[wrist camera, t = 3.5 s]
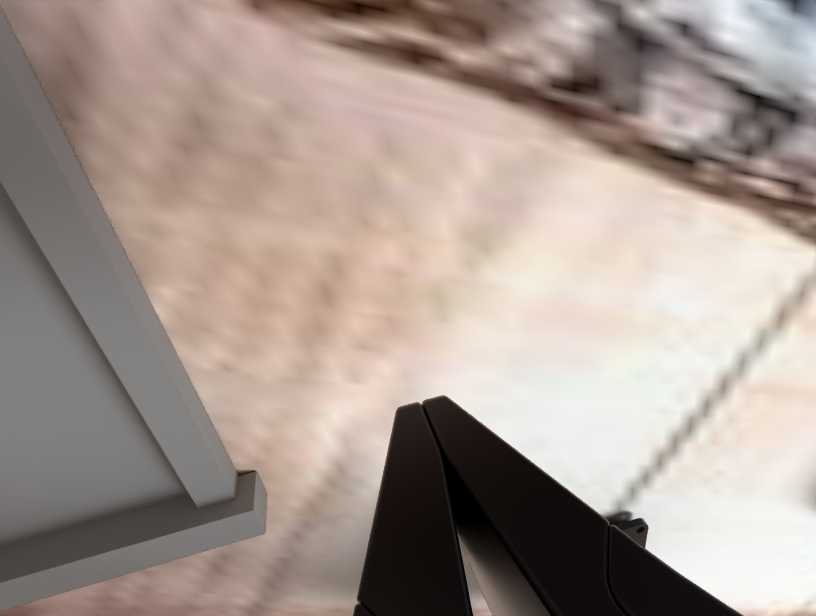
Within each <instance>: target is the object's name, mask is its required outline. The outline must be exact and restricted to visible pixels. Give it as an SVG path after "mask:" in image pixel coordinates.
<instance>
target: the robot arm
mask: <svg viewBox="0 0 816 616" xmlns="http://www.w3.org/2000/svg"><path fill="white" fill-rule="evenodd" d="M647 532H648V525H647V524H646V522H645V521H644V520H643V519H642V518H638V519H634V520H631V521H628V522H625V523H622V524H619V525H610V526H609V521H608V520H607V519H605V518H604V517H603V516H602V515H600V514H599V513H598V512H596V511H595V510H594V509H592V508H591V507H590V506H589V505H587V504H586V503H585V502H583V501H582V500H581V499H579V498H578V497H577V496H576V495H574V494H573V493H572V492H570V491H569V490H568V489H566V488H565V487H564V486H563V485H561V484H560V483H559V482H557V481H556V480H555V479H553V478H552V477H551V476H550V475H548V474H547V473H546V472H544V471H543V470H542V469H540V468H539V467H538V466H537V465H535V464H534V463H533V462H531V461H530V460H529V459H527V458H526V457H525V456H524V455H522V454H521V453H520V452H518V451H517V450H516V449H514V448H513V447H512V446H511V445H509V444H508V443H507V442H505V441H504V440H503V439H501V438H500V437H499V436H498V435H496V434H495V433H494V432H492V431H491V430H490V429H488V428H487V427H486V426H485V425H483V424H482V423H481V422H479V421H478V420H477V419H475V418H474V417H473V416H472V415H470V414H469V413H468V412H466V411H465V410H464V409H462V408H461V407H460V406H459V405H457V404H456V403H455V402H453V401H452V400H451V399H449V398H448V397H447V396H438V397H434V398H431V399H427V400H424V401H423V402H422V405H421V404H420V403H419V402H416V403H412V404H408V405H404V406H401V407H399V408H398V409H397V410H396V414H395V418H394V423H393V428H392V433H391V438H390V442H389V447H388V452H387V457H386V462H385V466H384V471H383V476H382V481H381V486H380V491H379V495H378V500H377V505H376V510H375V515H374V519H373V524H372V529H371V534H370V539H369V543H368V548H367V553H366V558H365V563H364V567H363V572H362V577H361V582H360V587H359V591H358V596H357V602H358V604H357V605H356V606H355V609H354V614H353V616H473V613H472V608H471V602H470V597H469V592H468V586H467V581H466V576H465V570H464V565H463V560H462V555H461V549H460V544H459V540H460V543H461V545H462V548H463V550H464V552H465V554H466V557H467V559H468V561H469V564H470V566H471V568H472V570H473V573H474V575H475V577H476V579H477V582H478V584H479V586H480V589H481V591H482V593H483V595H484V598H485V600H486V602H487V604H488V607H489V609H490V611H491V614H492V616H743V615H742V614H740V613H739V612H737V611H736V610H734V609H732V608H731V607H729V606H728V605H726V604H725V603H723V602H722V601H720V600H719V599H717V598H715V597H714V596H712V595H711V594H709V593H708V592H706V591H705V590H703V589H702V588H700V587H699V586H697V585H696V584H694V583H693V582H691V581H690V580H688V579H687V578H685V577H684V576H682V575H681V574H679V573H678V572H676V571H675V570H674V569H672V568H671V567H670V566H668V565H667V564H665V563H664V562H663V561H661V560H660V559H659V558H657V557H656V556H655V555H653V554H652V553H650V552H649V551H648V550H646V549H645V545H646V539H647ZM458 538H459V539H458Z"/></svg>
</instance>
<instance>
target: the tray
mask: <svg viewBox="0 0 816 616" xmlns="http://www.w3.org/2000/svg"><path fill="white" fill-rule="evenodd" d="M266 510H267V492H266V490H265V488H264V486H263V484H262V482H261V480H260V477H259V475H258V473H257V471H255V472H251V473H248V474H244V475H240V476H239V475H238V473H237V471H236V469H235V467H234V465H233V463H232V461H231V459H230V457H229V455H228V454H227V452H226V450H225V448H224V446H223V444H222V442H221V440H220V438H219V436H218V434H217V432H216V430H215V428H214V426H213V424H212V422H211V420H210V418H209V416H208V414H207V412H206V410H205V408H204V406H203V404H202V402H201V400H200V398H199V396H198V394H197V392H196V390H195V389H194V387H193V385H192V383H191V381H190V379H189V377H188V375H187V373H186V371H185V369H184V367H183V365H182V363H181V361H180V359H179V357H178V355H177V353H176V351H175V349H174V347H173V345H172V343H171V341H170V339H169V337H168V335H167V333H166V331H165V329H164V327H163V325H162V324H161V322H160V320H159V318H158V316H157V314H156V312H155V310H154V308H153V306H152V304H151V302H150V300H149V298H148V296H147V294H146V292H145V290H144V288H143V286H142V284H141V282H140V280H139V278H138V276H137V274H136V272H135V270H134V268H133V266H132V264H131V262H130V260H129V258H128V257H127V255H126V253H125V251H124V249H123V247H122V245H121V243H120V241H119V239H118V237H117V235H116V233H115V231H114V229H113V227H112V225H111V223H110V221H109V219H108V217H107V215H106V213H105V211H104V209H103V207H102V205H101V203H100V201H99V199H98V197H97V195H96V193H95V192H94V190H93V188H92V186H91V184H90V182H89V180H88V178H87V176H86V174H85V172H84V170H83V168H82V166H81V164H80V162H79V160H78V158H77V156H76V154H75V152H74V150H73V148H72V146H71V144H70V142H69V140H68V138H67V136H66V134H65V132H64V130H63V128H62V126H61V125H60V123H59V121H58V119H57V117H56V115H55V113H54V111H53V109H52V107H51V105H50V103H49V101H48V99H47V97H46V95H45V93H44V91H43V89H42V87H41V85H40V83H39V81H38V79H37V77H36V75H35V73H34V71H33V69H32V67H31V65H30V63H29V61H28V60H27V58H26V56H25V54H24V52H23V50H22V48H21V46H20V44H19V42H18V40H17V38H16V36H15V34H14V32H13V30H12V28H11V26H10V24H9V22H8V20H7V18H6V16H5V14H4V12H3V10H2V8H1V6H0V611H2V610H6V609H9V608H13V607H16V606H19V605H23V604H26V603H30V602H33V601H36V600H40V599H43V598H47V597H50V596H54V595H57V594H60V593H64V592H67V591H71V590H74V589H77V588H81V587H84V586H88V585H91V584H94V583H98V582H101V581H105V580H108V579H112V578H115V577H118V576H122V575H125V574H129V573H132V572H135V571H139V570H142V569H146V568H149V567H152V566H156V565H159V564H163V563H166V562H169V561H173V560H176V559H180V558H183V557H187V556H190V555H193V554H197V553H200V552H204V551H207V550H210V549H214V548H217V547H221V546H224V545H227V544H231V543H234V542H238V541H241V540H245V539H248V538H251V537H255V536H258V535H262V534H265V531H266Z"/></svg>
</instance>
